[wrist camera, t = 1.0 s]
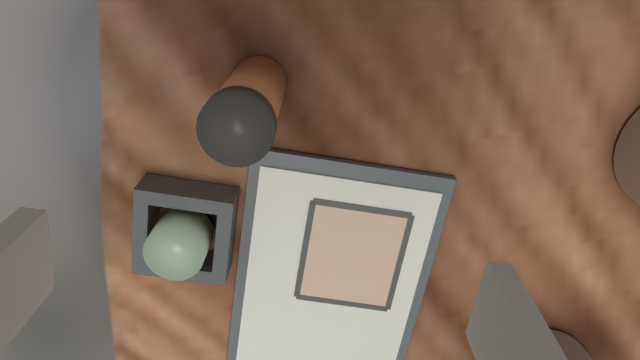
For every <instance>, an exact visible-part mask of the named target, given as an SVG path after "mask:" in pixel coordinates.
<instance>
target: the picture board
mask: <svg viewBox="0 0 640 360" xmlns="http://www.w3.org/2000/svg"><path fill="white" fill-rule="evenodd" d="M456 181H457V179H456V178H455V176H449V175H442V174H436V173H429V172H423V171H417V170H410V169H404V168H397V167H391V166H384V165H378V164H371V163H365V162H358V161H352V160H345V159H339V158H332V157H326V156H319V155H313V154H306V153H300V152H293V151H287V150H280V149H274V148H271V149H270V150H269V152H268V153H267V154H266V156H265V157H264V158H262V159H261V160H260V161H258V162H257V163H255V164H252V165H249V171H248V180H247V188H246V197H245V206H244V214H243V223H242V232H241V240H240V249H239V258H238V266H237V275H236V283H235V292H234V301H233V309H232V318H231V327H230V335H229V344H228V353H227V360H405V357H406V354H407V350H408V347H409V343H410V340H411V336H412V333H413V330H414V326H415V323H416V319H417V316H418V312H419V309H420V305H421V302H422V299H423V295H424V292H425V288H426V285H427V281H428V278H429V274H430V271H431V268H432V264H433V261H434V257H435V254H436V250H437V247H438V243H439V240H440V237H441V233H442V230H443V226H444V223H445V219H446V216H447V212H448V209H449V206H450V202H451V199H452V195H453V192H454V188H455V185H456Z"/></svg>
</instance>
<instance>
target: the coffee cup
mask: <svg viewBox="0 0 640 360" xmlns="http://www.w3.org/2000/svg"><path fill="white" fill-rule="evenodd" d="M550 330H551V329H550ZM551 332H552V333H553V335H554V337H555V338H556V340H557V342H558V344H559V345H560V347H561V349H562V350H563V352H564V354H565V356H566V357H567V359H568V360H593V359H592V358H591V357H590V355H589V354H588V353H587V352H586V350H585V349H584V348H583V346H582V345H581V344H580V343H579V342H578V341H577V340H576V339H574V338H573V337H571V336H569V335H568V334H566V333H563V332H560V331H557V330H551Z"/></svg>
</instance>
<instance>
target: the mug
mask: <svg viewBox="0 0 640 360" xmlns="http://www.w3.org/2000/svg"><path fill="white" fill-rule="evenodd" d="M614 172H615V176H616V180H617V182H618V184H619V185H620V187H621V189H622V190H623V191H624V192H625V194H626V195H627V196H628V197H629V198H630V199H632V200H633V201H634V202H635V203H637V204H638V205H639V206H640V108H639V109H638V110H637V112H636V113H635V114H634V115H633V116H632V117H631V118H630V119H629V121H628V122H627V124H626V125H625V127H624V128H623V130H622V132H621V134H620V136H619V139H618V141H617V143H616V148H615V152H614Z"/></svg>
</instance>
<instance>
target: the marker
mask: <svg viewBox="0 0 640 360" xmlns="http://www.w3.org/2000/svg"><path fill="white" fill-rule="evenodd" d="M286 84H287V82H286V76H285V73H284V71H283V69H282V68H281V66H280V65H279V64H278V63H277V62H276V61H274V60H273V59H271V58H269V57H266V56H261V55H255V56H251V57H248V58H246V59H244V60H243V61H242V62H240V63H239V65H238V66H237V67H236V68H235V70H234V71H233V72H232V74H231V75H230V76H229V78H228V79H227V80H226V81H225V83H224V84H223V85H222V87H221V88H220V89H219V91H217V92H216V93H215V94H213V95H212V96H211V97H210V99H209V100H208V101H207V102H206V104H205V105H204V106H203V108H202V109H201V111H200V113H199V115H198V118H197V124H196V131H197V136H198V140H199V142H200V144H201V146H202V148H203V149H204V151H205V152H206V153H207V154H208V155H209V156H210V157H211V158H213V159H214V160H215V161H217V162H219V163H221V164H224V165H226V166H231V167H245V166H249V165H252V164H255V163H257V162H258V161H260V160H261V159H262V158H264V157H265V156H266V154H267V153H268V152H269V150H270V149H271V147H272V144H273V141H274V137H275V134H276V129H277V119H278V115H279V112H280V108H281V105H282V101H283V98H284V94H285V91H286Z"/></svg>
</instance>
